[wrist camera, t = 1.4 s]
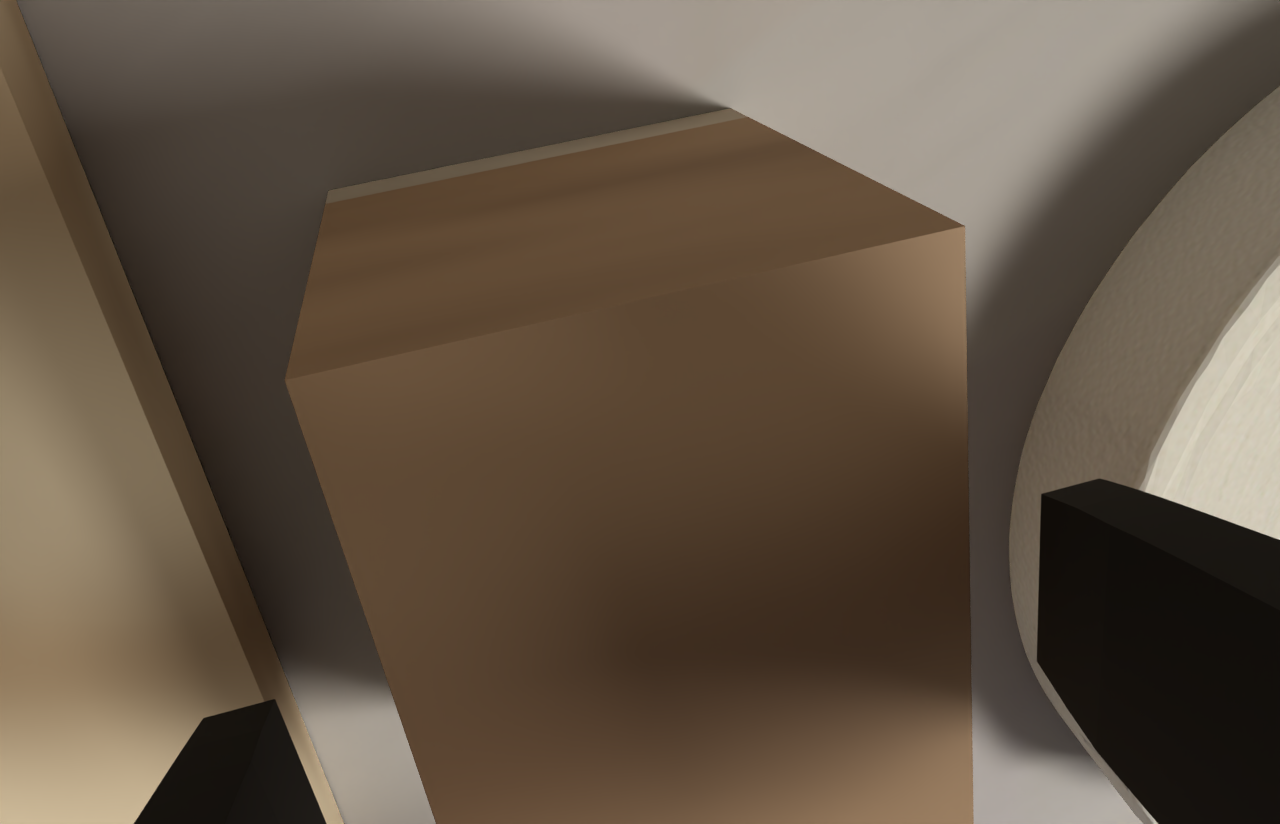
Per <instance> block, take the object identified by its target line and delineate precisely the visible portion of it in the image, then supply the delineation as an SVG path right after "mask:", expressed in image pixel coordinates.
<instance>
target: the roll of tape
mask: <svg viewBox="0 0 1280 824" xmlns="http://www.w3.org/2000/svg"><path fill="white" fill-rule="evenodd" d="M1099 478H1100V479H1104V480H1108V481H1111V482H1115V483H1118V484H1122V485H1125V486H1128V487H1131V488H1134V489H1138V490H1141V491H1144V492H1147V493H1150V494H1153V495H1156V496H1159V497H1162V498H1164V499H1167V500H1170V501H1173V502H1176V503H1179V504H1182V505H1184V506H1187V507H1190V508H1193V509H1196V510H1198V511H1201V512H1204V513H1207V514H1210V515H1212V516H1215V517H1218V518H1221V519H1223V520H1226V521H1229V522H1232V523H1234V524H1237V525H1240V526H1243V527H1245V528H1248V529H1251V530H1254V531H1257V532H1259V533H1262V534H1265V535H1268V536H1270V537H1273V538H1276V539H1279V540H1280V86H1279V87H1278V88H1276V89H1275V90H1274V91H1273V92H1272V93H1270V94H1269V95H1268V96H1267V97H1265V98H1264V99H1263V100H1262V101H1261V102H1259V103H1258V104H1257V105H1256V106H1255V107H1253V108H1252V109H1251V110H1250V111H1249V112H1248V113H1247V114H1246V115H1245V116H1243V117H1242V118H1241V119H1240V120H1239V121H1238V122H1237V123H1236V124H1235V125H1233V126H1232V127H1231V128H1230V129H1229V130H1228V131H1227V132H1226V133H1225V134H1224V135H1223V136H1221V137H1220V138H1219V139H1218V140H1217V141H1216V142H1215V143H1214V144H1213V145H1212V146H1211V147H1210V148H1209V149H1208V150H1207V151H1206V152H1205V153H1204V154H1203V155H1202V156H1201V157H1200V158H1199V159H1198V160H1197V161H1196V162H1195V163H1194V164H1193V165H1192V166H1191V167H1190V168H1189V170H1188V171H1187V172H1186V173H1185V174H1184V175H1183V176H1182V178H1181V179H1180V180H1179V181H1178V182H1177V183H1176V184H1175V186H1174V187H1173V188H1172V189H1171V190H1170V191H1169V192H1168V193H1167V195H1166V196H1165V197H1164V198H1163V200H1162V201H1161V202H1160V203H1159V204H1158V206H1157V207H1156V208H1155V209H1154V211H1153V212H1152V213H1151V214H1150V215H1149V217H1148V218H1147V219H1146V220H1145V221H1144V223H1143V224H1142V225H1141V226H1140V227H1139V229H1138V230H1137V231H1136V232H1135V234H1134V235H1133V237H1132V238H1131V239H1130V241H1129V242H1128V244H1127V245H1126V246H1125V248H1124V249H1123V251H1122V252H1121V253H1120V255H1119V256H1118V258H1117V259H1116V261H1115V262H1114V263H1113V265H1112V266H1111V268H1110V269H1109V271H1108V272H1107V274H1106V275H1105V277H1104V278H1103V280H1102V281H1101V283H1100V284H1099V286H1098V287H1097V289H1096V290H1095V292H1094V293H1093V295H1092V297H1091V298H1090V300H1089V302H1088V303H1087V305H1086V307H1085V308H1084V310H1083V312H1082V313H1081V315H1080V317H1079V319H1078V321H1077V322H1076V324H1075V326H1074V328H1073V330H1072V332H1071V334H1070V335H1069V337H1068V339H1067V341H1066V343H1065V345H1064V347H1063V349H1062V351H1061V353H1060V355H1059V356H1058V358H1057V360H1056V363H1055V365H1054V367H1053V369H1052V372H1051V374H1050V376H1049V379H1048V381H1047V383H1046V386H1045V388H1044V390H1043V393H1042V395H1041V397H1040V400H1039V402H1038V404H1037V407H1036V410H1035V413H1034V416H1033V419H1032V422H1031V425H1030V428H1029V431H1028V434H1027V437H1026V440H1025V444H1024V447H1023V451H1022V455H1021V459H1020V464H1019V468H1018V473H1017V479H1016V484H1015V490H1014V496H1013V502H1012V511H1011V522H1010V533H1009V564H1010V581H1011V593H1012V599H1013V605H1014V611H1015V616H1016V621H1017V625H1018V629H1019V633H1020V636H1021V640H1022V643H1023V646H1024V649H1025V652H1026V655H1027V658H1028V660H1029V662H1030V665H1031V667H1032V669H1033V672H1034V674H1035V676H1036V678H1037V680H1038V681H1039V683H1040V685H1041V687H1042V689H1043V690H1044V692H1045V694H1046V695H1047V697H1048V698H1049V700H1050V701H1051V703H1052V704H1053V706H1054V707H1055V709H1056V710H1057V712H1058V713H1059V715H1060V716H1061V717H1062V719H1063V720H1064V721H1065V723H1066V724H1067V726H1068V727H1069V728H1070V730H1071V731H1072V732H1073V734H1074V735H1075V736H1076V738H1077V739H1078V740H1079V741H1080V743H1081V744H1082V745H1083V747H1084V748H1085V749H1086V751H1087V752H1088V753H1089V755H1090V756H1091V757H1092V759H1093V760H1094V761H1095V763H1096V764H1097V765H1098V766H1099V768H1100V769H1101V770H1102V772H1103V773H1104V774H1105V776H1106V777H1107V778H1108V780H1109V781H1110V782H1111V784H1112V785H1113V786H1114V787H1115V789H1116V790H1117V791H1118V793H1119V794H1120V795H1121V797H1122V798H1123V799H1124V801H1125V802H1126V803H1127V805H1128V806H1129V807H1130V809H1131V810H1132V811H1133V812H1134V814H1135V815H1136V816H1137V817H1138V818H1139V819H1140V820H1141V821H1142V822H1143V823H1144V824H1158V823H1157V822H1156V821H1155V819H1154V818H1153V817H1152V816H1151V815H1150V814H1149V812H1148V811H1147V810H1146V809H1145V808H1144V807H1143V805H1142V804H1141V803H1140V802H1139V801H1138V800H1137V798H1136V797H1135V796H1134V795H1133V794H1132V793H1131V791H1130V790H1129V789H1128V788H1127V787H1126V786H1125V784H1124V783H1123V782H1122V781H1121V780H1120V779H1119V777H1118V776H1117V775H1116V774H1115V773H1114V772H1113V770H1112V769H1111V768H1110V767H1109V766H1108V764H1107V763H1106V762H1105V761H1104V760H1103V758H1102V757H1101V756H1100V755H1099V754H1098V752H1097V751H1096V750H1095V748H1094V747H1093V746H1092V744H1091V743H1090V741H1089V740H1088V738H1087V737H1086V735H1085V734H1084V733H1083V731H1082V730H1081V728H1080V727H1079V725H1078V724H1077V722H1076V721H1075V719H1074V718H1073V717H1072V715H1071V714H1070V712H1069V711H1068V709H1067V708H1066V706H1065V705H1064V703H1063V701H1062V700H1061V698H1060V697H1059V695H1058V694H1057V692H1056V691H1055V689H1054V687H1053V686H1052V684H1051V683H1050V681H1049V680H1048V678H1047V676H1046V675H1045V673H1044V672H1043V670H1042V669H1041V667H1040V666H1039V664H1038V662H1037V628H1038V590H1039V553H1040V516H1041V494H1043V493H1046V492H1050V491H1054V490H1057V489H1061V488H1065V487H1069V486H1072V485H1076V484H1080V483H1084V482H1087V481H1091V480H1095V479H1099Z"/></svg>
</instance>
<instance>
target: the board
mask: <svg viewBox="0 0 1280 824" xmlns="http://www.w3.org/2000/svg"><path fill="white" fill-rule="evenodd" d="M273 699H275V700H276V702H277V705H278V707H279V709H280V712H281V714H282V717H283V719H284V722H285V724H286V726H287V729H288V731H289V734H290V736H291V739H292V741H293V743H294V746H295V748H296V751H297V753H298V756H299V758H300V760H301V763H302V765H303V768H304V770H305V772H306V775H307V777H308V780H309V782H310V785H311V787H312V789H313V792H314V794H315V797H316V799H317V802H318V804H319V806H320V809H321V811H322V814H323V816H324V819H325V821H326V823H327V824H344V822H343V820H342V817H341V815H340V812H339V810H338V807H337V804H336V802H335V799H334V797H333V794H332V792H331V789H330V787H329V784H328V782H327V779H326V777H325V774H324V772H323V769H322V767H321V764H320V762H319V759H318V757H317V754H316V752H315V749H314V747H313V744H312V742H311V739H310V737H309V734H308V732H307V729H306V727H305V724H304V722H303V719H302V717H301V714H300V712H299V709H298V707H297V704H296V702H295V699H294V697H293V694H292V692H291V689H290V687H289V684H288V682H287V679H286V676H285V674H284V671H283V669H282V666H281V664H280V661H279V659H278V656H277V654H276V651H275V649H274V646H273V644H272V641H271V639H270V636H269V634H268V631H267V629H266V626H265V624H264V621H263V619H262V616H261V614H260V611H259V609H258V606H257V604H256V601H255V599H254V596H253V594H252V591H251V589H250V586H249V584H248V581H247V579H246V576H245V574H244V571H243V569H242V566H241V564H240V561H239V559H238V556H237V554H236V551H235V548H234V546H233V543H232V541H231V538H230V536H229V533H228V531H227V528H226V526H225V523H224V521H223V518H222V516H221V513H220V511H219V508H218V506H217V503H216V501H215V498H214V496H213V493H212V491H211V488H210V486H209V483H208V481H207V478H206V476H205V473H204V471H203V468H202V466H201V463H200V461H199V458H198V456H197V453H196V451H195V448H194V446H193V443H192V441H191V438H190V436H189V433H188V431H187V428H186V426H185V423H184V420H183V418H182V415H181V413H180V410H179V408H178V405H177V403H176V400H175V398H174V395H173V393H172V390H171V388H170V385H169V383H168V380H167V378H166V375H165V373H164V370H163V368H162V365H161V363H160V360H159V358H158V355H157V353H156V350H155V348H154V345H153V343H152V340H151V338H150V335H149V333H148V330H147V328H146V325H145V323H144V320H143V318H142V315H141V313H140V310H139V308H138V305H137V303H136V300H135V298H134V295H133V293H132V290H131V287H130V285H129V282H128V280H127V277H126V275H125V272H124V270H123V267H122V265H121V262H120V260H119V257H118V255H117V252H116V250H115V247H114V245H113V242H112V240H111V237H110V235H109V232H108V230H107V227H106V225H105V222H104V220H103V217H102V215H101V212H100V210H99V207H98V205H97V202H96V200H95V197H94V195H93V192H92V190H91V187H90V185H89V182H88V180H87V177H86V175H85V172H84V170H83V167H82V165H81V162H80V159H79V157H78V154H77V152H76V149H75V147H74V144H73V142H72V139H71V137H70V134H69V132H68V129H67V127H66V124H65V122H64V119H63V117H62V114H61V112H60V109H59V107H58V104H57V102H56V99H55V97H54V94H53V92H52V89H51V87H50V84H49V82H48V79H47V77H46V74H45V72H44V69H43V67H42V64H41V62H40V59H39V57H38V54H37V52H36V49H35V47H34V44H33V42H32V39H31V37H30V34H29V31H28V29H27V26H26V24H25V21H24V19H23V16H22V14H21V11H20V9H19V6H18V4H17V1H16V0H0V824H134V822H135V821H136V819H137V818H138V816H139V815H140V813H141V812H142V810H143V809H144V807H145V805H146V804H147V802H148V801H149V799H150V798H151V796H152V795H153V793H154V792H155V790H156V788H157V787H158V785H159V784H160V782H161V781H162V779H163V778H164V776H165V775H166V773H167V772H168V770H169V768H170V767H171V765H172V764H173V762H174V761H175V759H176V758H177V756H178V755H179V753H180V752H181V750H182V749H183V747H184V746H185V744H186V743H187V741H188V740H189V738H190V737H191V735H192V734H193V732H194V731H195V730H196V728H197V727H198V725H199V724H200V722H201V721H202V719H203V718H205V717H209V716H213V715H217V714H220V713H224V712H228V711H231V710H235V709H239V708H243V707H246V706H250V705H254V704H258V703H261V702H265V701H269V700H273Z"/></svg>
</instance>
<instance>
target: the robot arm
mask: <svg viewBox="0 0 1280 824" xmlns="http://www.w3.org/2000/svg"><path fill="white" fill-rule="evenodd" d="M1037 662H1038V664H1039V666H1040V667H1041V669H1042V670H1043V672H1044V673H1045V675H1046V676H1047V678H1048V680H1049V681H1050V683H1051V684H1052V686H1053V687H1054V689H1055V691H1056V692H1057V694H1058V695H1059V697H1060V698H1061V700H1062V701H1063V703H1064V705H1065V706H1066V708H1067V709H1068V711H1069V712H1070V714H1071V715H1072V717H1073V718H1074V719H1075V721H1076V722H1077V724H1078V725H1079V727H1080V728H1081V730H1082V731H1083V733H1084V734H1085V735H1086V737H1087V738H1088V740H1089V741H1090V743H1091V744H1092V746H1093V747H1094V748H1095V750H1096V751H1097V752H1098V754H1099V755H1100V756H1101V757H1102V758H1103V760H1104V761H1105V762H1106V763H1107V764H1108V766H1109V767H1110V768H1111V769H1112V770H1113V772H1114V773H1115V774H1116V775H1117V776H1118V777H1119V779H1120V780H1121V781H1122V782H1123V783H1124V784H1125V786H1126V787H1127V788H1128V789H1129V790H1130V791H1131V793H1132V794H1133V795H1134V796H1135V797H1136V798H1137V800H1138V801H1139V802H1140V803H1141V804H1142V805H1143V807H1144V808H1145V809H1146V810H1147V811H1148V812H1149V814H1150V815H1151V816H1152V817H1153V818H1154V819H1155V821H1156V822H1157V823H1158V824H1280V540H1279V539H1276V538H1273V537H1270V536H1268V535H1265V534H1262V533H1259V532H1257V531H1254V530H1251V529H1248V528H1245V527H1243V526H1240V525H1237V524H1234V523H1232V522H1229V521H1226V520H1223V519H1221V518H1218V517H1215V516H1212V515H1210V514H1207V513H1204V512H1201V511H1198V510H1196V509H1193V508H1190V507H1187V506H1184V505H1182V504H1179V503H1176V502H1173V501H1170V500H1167V499H1164V498H1162V497H1159V496H1156V495H1153V494H1150V493H1147V492H1144V491H1141V490H1138V489H1134V488H1131V487H1128V486H1125V485H1122V484H1118V483H1115V482H1111V481H1108V480H1104V479H1100V478H1099V479H1095V480H1091V481H1087V482H1084V483H1080V484H1076V485H1072V486H1069V487H1065V488H1061V489H1057V490H1054V491H1050V492H1046V493H1043V494H1041V516H1040V553H1039V590H1038V628H1037ZM134 824H327V823H326V821H325V819H324V816H323V814H322V811H321V809H320V806H319V804H318V802H317V799H316V797H315V794H314V792H313V789H312V787H311V785H310V782H309V780H308V777H307V775H306V772H305V770H304V768H303V765H302V763H301V760H300V758H299V756H298V753H297V751H296V748H295V746H294V743H293V741H292V739H291V736H290V734H289V731H288V729H287V726H286V724H285V722H284V719H283V717H282V714H281V712H280V709H279V707H278V705H277V702H276V700H275V699H273V700H269V701H265V702H261V703H258V704H254V705H250V706H246V707H243V708H239V709H235V710H231V711H228V712H224V713H220V714H217V715H213V716H209V717H205V718H203V719H202V721H201V722H200V724H199V725H198V727H197V728H196V730H195V731H194V732H193V734H192V735H191V737H190V738H189V740H188V741H187V743H186V744H185V746H184V747H183V749H182V750H181V752H180V753H179V755H178V756H177V758H176V759H175V761H174V762H173V764H172V765H171V767H170V768H169V770H168V772H167V773H166V775H165V776H164V778H163V779H162V781H161V782H160V784H159V785H158V787H157V788H156V790H155V792H154V793H153V795H152V796H151V798H150V799H149V801H148V802H147V804H146V805H145V807H144V809H143V810H142V812H141V813H140V815H139V816H138V818H137V819H136V821H135V822H134Z"/></svg>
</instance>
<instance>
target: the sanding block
mask: <svg viewBox="0 0 1280 824" xmlns="http://www.w3.org/2000/svg"><path fill="white" fill-rule="evenodd" d="M285 383H286V386H287V389H288V392H289V395H290V398H291V401H292V403H293V406H294V409H295V412H296V415H297V418H298V421H299V424H300V427H301V430H302V433H303V436H304V439H305V441H306V444H307V447H308V450H309V453H310V456H311V459H312V462H313V465H314V468H315V471H316V474H317V477H318V480H319V482H320V485H321V488H322V491H323V494H324V497H325V500H326V503H327V506H328V509H329V512H330V515H331V518H332V520H333V523H334V526H335V529H336V532H337V535H338V538H339V541H340V544H341V547H342V550H343V553H344V556H345V558H346V561H347V564H348V567H349V570H350V573H351V576H352V579H353V582H354V585H355V588H356V591H357V594H358V596H359V599H360V602H361V605H362V608H363V611H364V614H365V617H366V620H367V623H368V626H369V629H370V632H371V634H372V637H373V640H374V643H375V646H376V649H377V652H378V655H379V658H380V661H381V664H382V667H383V670H384V672H385V675H386V678H387V681H388V684H389V687H390V690H391V693H392V696H393V699H394V702H395V705H396V708H397V710H398V713H399V716H400V719H401V722H402V725H403V728H404V731H405V734H406V737H407V740H408V743H409V746H410V748H411V751H412V754H413V757H414V760H415V763H416V766H417V769H418V772H419V775H420V778H421V781H422V784H423V786H424V789H425V792H426V795H427V798H428V801H429V804H430V807H431V810H432V813H433V816H434V819H435V822H436V824H973V758H972V688H971V617H970V547H969V477H968V407H967V337H966V267H965V226H964V225H962V224H960V223H958V222H956V221H954V220H952V219H950V218H948V217H946V216H944V215H942V214H940V213H938V212H936V211H934V210H932V209H930V208H928V207H926V206H924V205H922V204H920V203H918V202H916V201H914V200H912V199H910V198H908V197H906V196H904V195H902V194H900V193H898V192H896V191H894V190H892V189H890V188H888V187H886V186H884V185H882V184H880V183H878V182H876V181H874V180H872V179H870V178H868V177H866V176H864V175H862V174H860V173H858V172H856V171H854V170H852V169H850V168H848V167H846V166H844V165H842V164H840V163H838V162H836V161H834V160H833V159H831V158H829V157H827V156H825V155H823V154H821V153H819V152H817V151H815V150H813V149H811V148H809V147H807V146H805V145H803V144H801V143H799V142H797V141H795V140H793V139H791V138H789V137H787V136H785V135H783V134H781V133H779V132H777V131H775V130H773V129H771V128H769V127H767V126H765V125H763V124H761V123H759V122H757V121H755V120H753V119H751V118H749V117H747V116H745V115H743V114H741V113H739V112H737V111H735V110H733V109H731V108H729V109H724V110H719V111H714V112H709V113H704V114H699V115H695V116H690V117H685V118H680V119H675V120H670V121H665V122H660V123H655V124H651V125H646V126H641V127H636V128H631V129H626V130H621V131H616V132H612V133H607V134H602V135H597V136H592V137H587V138H582V139H577V140H572V141H568V142H563V143H558V144H553V145H548V146H543V147H538V148H533V149H528V150H524V151H519V152H514V153H509V154H504V155H499V156H494V157H489V158H485V159H480V160H475V161H470V162H465V163H460V164H455V165H450V166H445V167H441V168H436V169H431V170H426V171H421V172H416V173H411V174H406V175H401V176H397V177H392V178H387V179H382V180H377V181H372V182H367V183H362V184H358V185H353V186H348V187H343V188H338V189H333V190H328V195H327V199H326V203H325V208H324V212H323V216H322V221H321V225H320V229H319V234H318V238H317V242H316V247H315V251H314V255H313V260H312V264H311V268H310V273H309V277H308V281H307V285H306V290H305V294H304V298H303V303H302V307H301V311H300V316H299V320H298V324H297V329H296V333H295V337H294V342H293V346H292V350H291V355H290V359H289V363H288V368H287V372H286V376H285Z"/></svg>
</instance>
